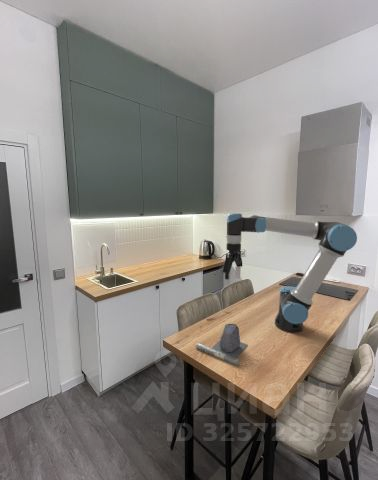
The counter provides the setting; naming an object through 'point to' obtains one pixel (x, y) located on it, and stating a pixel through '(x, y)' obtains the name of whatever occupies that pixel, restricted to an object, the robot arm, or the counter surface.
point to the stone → (230, 338)
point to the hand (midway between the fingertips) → (232, 281)
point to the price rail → (217, 354)
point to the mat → (233, 354)
